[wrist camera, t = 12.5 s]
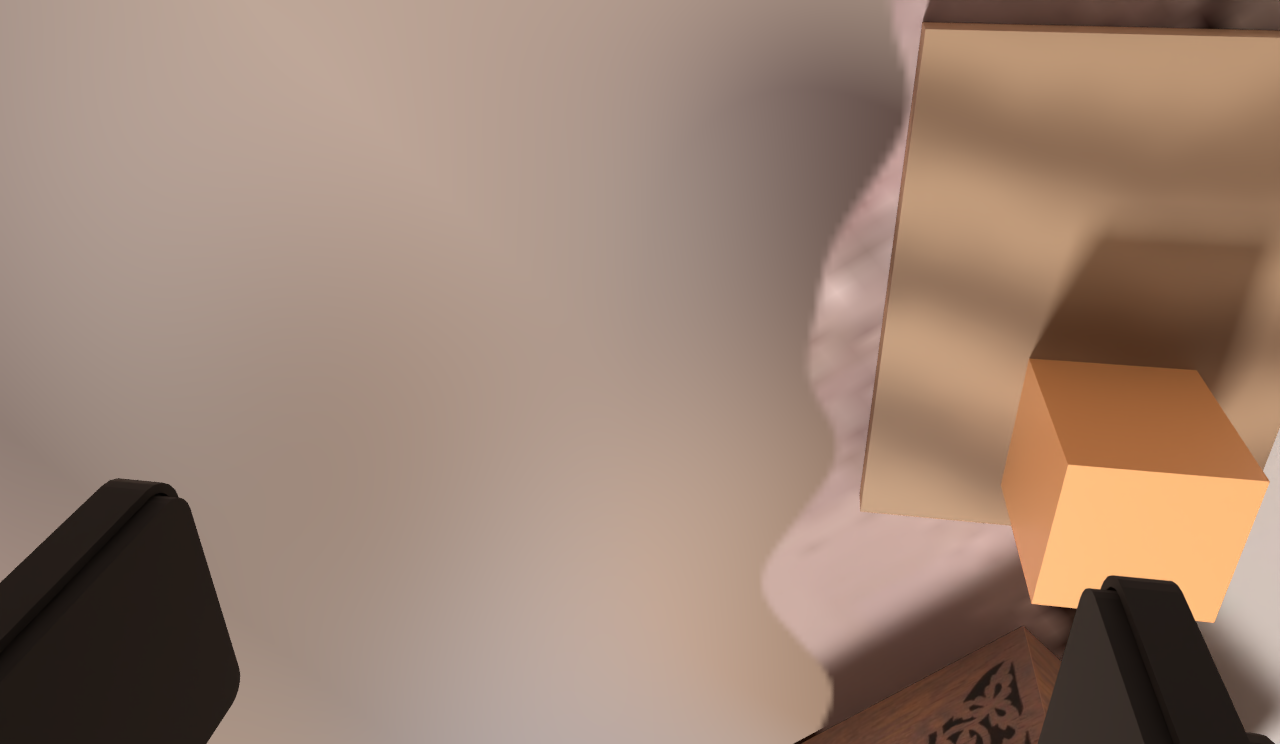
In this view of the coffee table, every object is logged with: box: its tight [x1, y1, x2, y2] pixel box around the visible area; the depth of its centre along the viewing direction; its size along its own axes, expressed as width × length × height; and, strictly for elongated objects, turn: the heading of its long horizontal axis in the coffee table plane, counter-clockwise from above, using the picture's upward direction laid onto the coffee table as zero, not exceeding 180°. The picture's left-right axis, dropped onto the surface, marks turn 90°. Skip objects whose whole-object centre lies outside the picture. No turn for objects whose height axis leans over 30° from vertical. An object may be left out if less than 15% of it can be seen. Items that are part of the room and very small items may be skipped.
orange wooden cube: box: [1001, 359, 1270, 623], centre depth 35 cm, size 6×6×7 cm
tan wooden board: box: [860, 22, 1280, 526], centre depth 37 cm, size 20×15×1 cm
